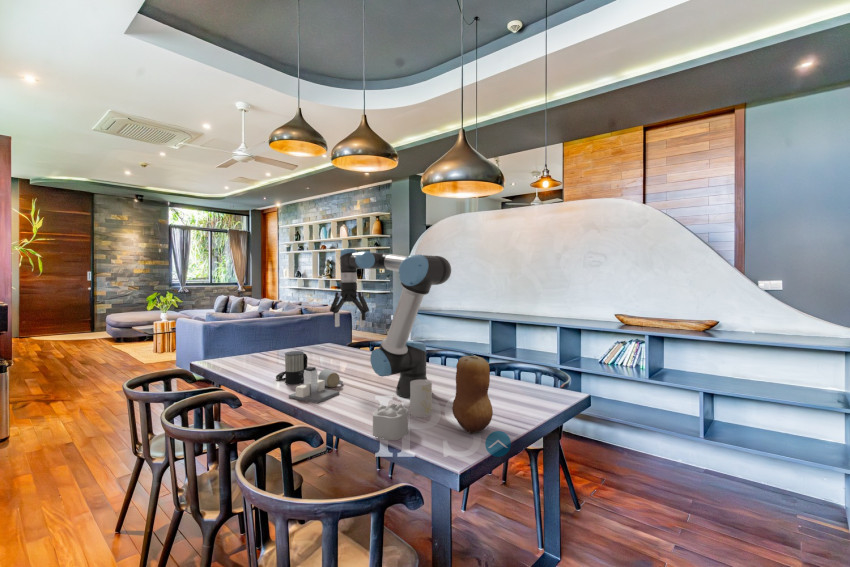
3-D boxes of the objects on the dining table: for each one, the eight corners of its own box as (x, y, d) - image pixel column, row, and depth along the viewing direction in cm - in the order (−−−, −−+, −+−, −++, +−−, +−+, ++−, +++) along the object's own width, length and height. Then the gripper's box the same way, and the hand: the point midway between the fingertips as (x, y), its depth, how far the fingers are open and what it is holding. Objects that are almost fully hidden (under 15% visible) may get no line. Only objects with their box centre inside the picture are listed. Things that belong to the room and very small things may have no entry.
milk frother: (300, 385, 199) (300, 354, 198) (268, 385, 199) (267, 354, 199) (309, 377, 213) (309, 349, 213) (279, 377, 213) (279, 348, 213)
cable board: (339, 394, 184) (339, 382, 183) (318, 402, 171) (318, 390, 171) (310, 389, 190) (310, 378, 190) (288, 398, 178) (288, 385, 178)
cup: (424, 418, 152) (424, 386, 152) (406, 414, 156) (406, 383, 156) (435, 412, 159) (435, 381, 159) (417, 408, 163) (417, 378, 163)
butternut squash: (500, 432, 139) (501, 357, 138) (470, 441, 131) (470, 362, 131) (473, 420, 150) (473, 351, 150) (443, 428, 142) (443, 355, 142)
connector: (317, 392, 182) (317, 367, 182) (311, 394, 179) (311, 369, 179) (310, 391, 184) (310, 366, 184) (304, 393, 181) (303, 368, 180)
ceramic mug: (327, 389, 191) (327, 372, 191) (317, 386, 197) (318, 370, 197) (346, 385, 199) (346, 369, 199) (336, 382, 204) (336, 366, 204)
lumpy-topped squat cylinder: (368, 437, 135) (368, 410, 135) (386, 423, 147) (386, 399, 147) (397, 441, 131) (397, 414, 131) (413, 427, 143) (413, 402, 143)
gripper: (321, 282, 196) (322, 327, 197) (368, 281, 187) (368, 328, 187) (331, 282, 203) (331, 325, 203) (376, 281, 194) (376, 326, 194)
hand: (349, 327), depth 195 cm, fingers open, 13 cm apart
